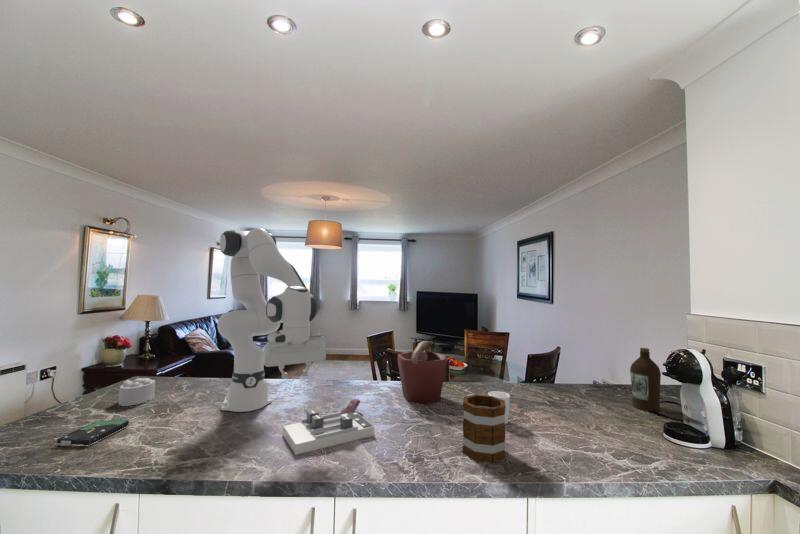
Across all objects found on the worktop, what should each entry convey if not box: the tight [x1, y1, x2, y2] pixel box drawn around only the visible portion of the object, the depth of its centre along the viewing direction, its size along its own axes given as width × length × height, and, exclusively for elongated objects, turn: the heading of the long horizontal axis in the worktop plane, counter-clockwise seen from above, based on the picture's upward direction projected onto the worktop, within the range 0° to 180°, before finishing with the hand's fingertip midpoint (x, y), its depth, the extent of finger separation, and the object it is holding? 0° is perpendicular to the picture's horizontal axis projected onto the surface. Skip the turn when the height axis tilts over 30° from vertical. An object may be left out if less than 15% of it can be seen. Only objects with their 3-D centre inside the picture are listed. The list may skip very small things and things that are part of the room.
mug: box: [462, 393, 506, 464], centre depth 107 cm, size 20×14×15 cm
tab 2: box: [340, 415, 353, 430], centre depth 111 cm, size 3×3×4 cm
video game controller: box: [340, 398, 361, 414], centre depth 131 cm, size 10×5×7 cm, turn 169°
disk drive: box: [56, 419, 130, 445], centre depth 109 cm, size 10×3×15 cm
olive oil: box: [629, 347, 662, 412], centre depth 145 cm, size 11×11×25 cm
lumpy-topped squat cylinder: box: [118, 377, 156, 406], centre depth 141 cm, size 10×13×9 cm
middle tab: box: [311, 414, 324, 429], centre depth 111 cm, size 3×3×4 cm
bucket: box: [397, 340, 448, 406], centre depth 152 cm, size 24×22×25 cm
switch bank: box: [282, 411, 375, 456], centre depth 113 cm, size 15×26×4 cm, turn 122°
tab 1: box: [306, 409, 320, 424], centre depth 115 cm, size 3×3×4 cm
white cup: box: [487, 390, 511, 425], centre depth 127 cm, size 8×8×10 cm
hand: (294, 377), depth 112 cm, fingers open, 5 cm apart
